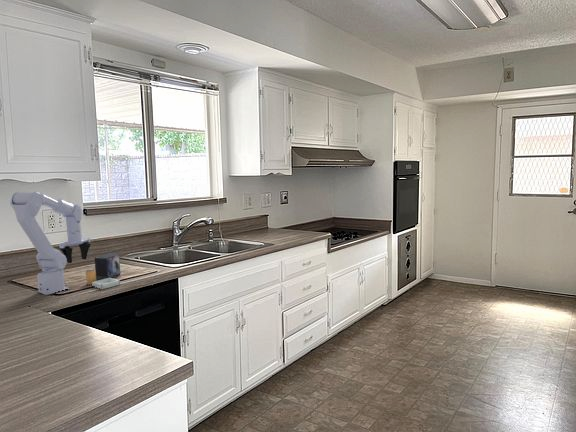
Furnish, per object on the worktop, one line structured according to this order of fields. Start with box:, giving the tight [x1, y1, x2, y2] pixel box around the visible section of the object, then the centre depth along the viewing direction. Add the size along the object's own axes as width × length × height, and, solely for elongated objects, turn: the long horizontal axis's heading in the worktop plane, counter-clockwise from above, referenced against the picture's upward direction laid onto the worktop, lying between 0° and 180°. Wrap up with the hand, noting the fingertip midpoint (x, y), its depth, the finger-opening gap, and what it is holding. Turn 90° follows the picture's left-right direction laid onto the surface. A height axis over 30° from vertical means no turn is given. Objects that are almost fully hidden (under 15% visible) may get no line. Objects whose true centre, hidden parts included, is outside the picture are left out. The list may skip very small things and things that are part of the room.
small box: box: [94, 252, 121, 281], centre depth 202 cm, size 11×6×10 cm, turn 168°
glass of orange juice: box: [85, 268, 97, 285], centre depth 193 cm, size 4×4×6 cm
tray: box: [91, 278, 121, 290], centre depth 189 cm, size 8×8×2 cm
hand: (77, 260), depth 197 cm, fingers open, 7 cm apart
